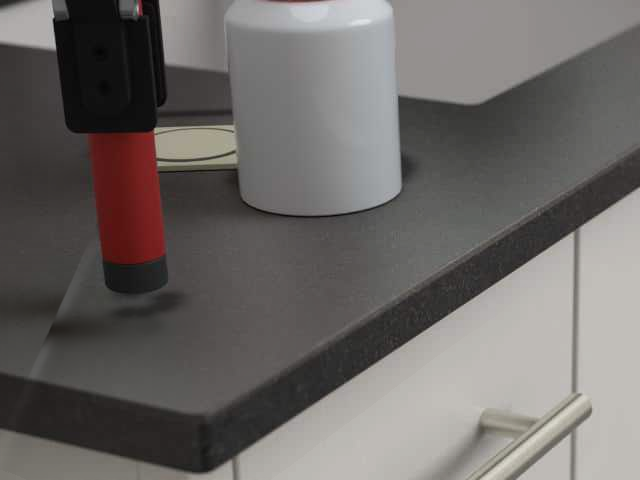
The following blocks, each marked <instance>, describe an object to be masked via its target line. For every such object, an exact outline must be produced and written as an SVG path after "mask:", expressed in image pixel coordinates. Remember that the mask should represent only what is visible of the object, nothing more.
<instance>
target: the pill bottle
mask: <svg viewBox="0 0 640 480" xmlns="http://www.w3.org/2000/svg"><path fill="white" fill-rule="evenodd" d="M395 22H396V21H395V11H394V8H393V5H392V4H391V3H390V2H389V1H388V0H233V2H232V3H231V4H230V5H229V6H228V8H226V10H225V11H224V15H223V29H224V40H225V50H226V60H227V70H228V81H229V92H230V93H229V94H230V104H231V115H232V125H233V126H234V136H235V147H236V157H237V168H238V169H237V178H238V187H239V196H240V197H241V199H242V201H243V202H245V204H247V205H248V206H250V207H253V208H254V209H257V210H260V211H264V212H267V213H271V214H277V215H282V216H283V215H284V216H296V217H323V216H335V215H336V216H337V215H345V214H351V213H356V212H357V213H358V212H361V211H365V210H368V209H373V208H376V207H378V206H382V205H384V204H386V203H388V202H390V201H391V200H393V199H394V198H396V197H397V196H398V195H399V194H400V193H401V191H402V188H403V178H402V176H403V175H402V174H403V173H402V154H401V153H402V152H401V135H400V134H401V133H400V112H399V111H400V109H399V108H400V107H399V92H398V87H399V86H398V69H397V68H398V67H397V46H396V25H395V24H396V23H395Z"/></svg>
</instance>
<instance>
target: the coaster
mask: <svg viewBox="0 0 640 480" xmlns="http://www.w3.org/2000/svg"><path fill="white" fill-rule="evenodd" d="M154 136H155V146H156V156H157V166H158V173H159V172H180V171H181V172H185V171H186V172H187V171H212V170H213V171H214V170H215V171H217V170H238V168H237V157H236V147H235V136H234V126H233V124H227V125H225V124H221V125H196V126H195V125H194V126H166V127H163V126H162V127H155V129H154Z"/></svg>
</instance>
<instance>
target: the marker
mask: <svg viewBox="0 0 640 480" xmlns="http://www.w3.org/2000/svg"><path fill="white" fill-rule="evenodd" d="M138 3H139V15H143V14H142V4H141V0H138ZM86 135H87V143H88V152H89V160H90V168H91V175H92V176H91V177H92V185H93V193H94V202H95V211H96V217H97V218H96V220H97V227H98V236H99V244H100V252H101V261H102V262H101V263H102V270H103V279H104V285H105V287H106V288H107V289H108V290H109V291H112V292H113V293H118V294H125V295H138V294H146V293H151V292H155V291H158V290H160V289H162V288H164V287H165V286H166V285H167V284H168V283H169V280H170V279H169V270H168V260H167V259H168V258H167V252H166V240H165V239H166V238H165V229H164V219H163V209H162V198H161V197H162V196H161V188H160V187H161V186H160V178H159V172H158V166H157V156H156V146H155V136H154V130H153V131H151V132H147V133H86Z"/></svg>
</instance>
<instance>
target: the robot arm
mask: <svg viewBox="0 0 640 480" xmlns="http://www.w3.org/2000/svg"><path fill="white" fill-rule="evenodd" d="M141 4H142V14H143V15H139V3H138V0H51V6H52V13H53V18H52V27H53V35H54V44H55V51H56V58H57V59H56V60H57V66H58V75H59V76H58V77H59V83H60V84H59V85H60V90H61V91H60V93H61V97H62V99H61V100H62V107H63V115H64V123H65V126H66V128H67V129H68V131H70V132H71V133H72V134H78V135H80V134H87V133H147V132H151V131H153V130H154V129H155V128H157V124H158V122H159V113H158V112H159V111H158V108H161V107H163V106H164V105H165V104H166V102H167V99H168V95H169V91H168V81H167V70H166V58H165V49H164V48H165V47H164V38H163V28H162V17H161V6H160V0H141Z"/></svg>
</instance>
